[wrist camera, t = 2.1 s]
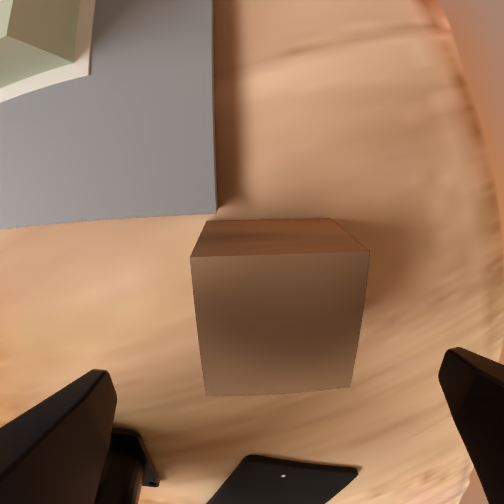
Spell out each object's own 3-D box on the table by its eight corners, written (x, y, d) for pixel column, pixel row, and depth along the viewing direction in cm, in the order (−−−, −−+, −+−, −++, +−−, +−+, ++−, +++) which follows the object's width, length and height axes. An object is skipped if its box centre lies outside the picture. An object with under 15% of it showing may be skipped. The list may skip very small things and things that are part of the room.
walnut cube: (322, 324, 15) (349, 386, 10) (214, 328, 14) (206, 395, 10) (329, 217, 13) (369, 251, 9) (206, 220, 13) (189, 257, 9)
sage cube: (73, 63, 9) (6, 35, 5) (-11, 93, 9) (-80, 88, 5) (86, -33, 8) (39, -79, 4) (1, 4, 8) (-54, -20, 4)
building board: (218, 208, 13) (216, 214, 12) (-30, 229, 12) (-42, 234, 11) (216, -100, 8) (215, -112, 7) (-13, -26, 7) (-23, -31, 6)
